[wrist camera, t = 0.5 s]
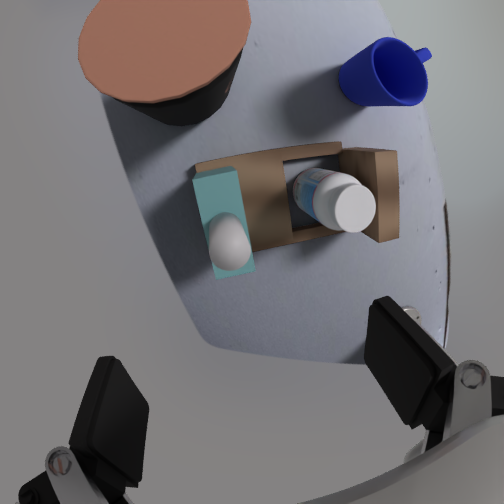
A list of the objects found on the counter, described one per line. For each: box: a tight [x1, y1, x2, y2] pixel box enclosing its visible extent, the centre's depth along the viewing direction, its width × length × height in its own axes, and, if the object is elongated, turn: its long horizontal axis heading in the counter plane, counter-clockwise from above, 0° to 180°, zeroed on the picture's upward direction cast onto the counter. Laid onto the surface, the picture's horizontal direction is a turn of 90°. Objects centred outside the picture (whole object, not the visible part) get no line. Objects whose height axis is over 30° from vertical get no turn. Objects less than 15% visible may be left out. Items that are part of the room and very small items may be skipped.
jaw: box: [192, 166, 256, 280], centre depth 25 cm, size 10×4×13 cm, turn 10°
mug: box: [339, 37, 432, 106], centre depth 24 cm, size 8×12×10 cm
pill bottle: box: [293, 168, 376, 233], centre depth 29 cm, size 6×6×11 cm
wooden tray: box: [195, 142, 399, 252], centre depth 30 cm, size 12×21×9 cm, turn 100°
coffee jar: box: [78, 0, 251, 126], centre depth 19 cm, size 11×11×18 cm
